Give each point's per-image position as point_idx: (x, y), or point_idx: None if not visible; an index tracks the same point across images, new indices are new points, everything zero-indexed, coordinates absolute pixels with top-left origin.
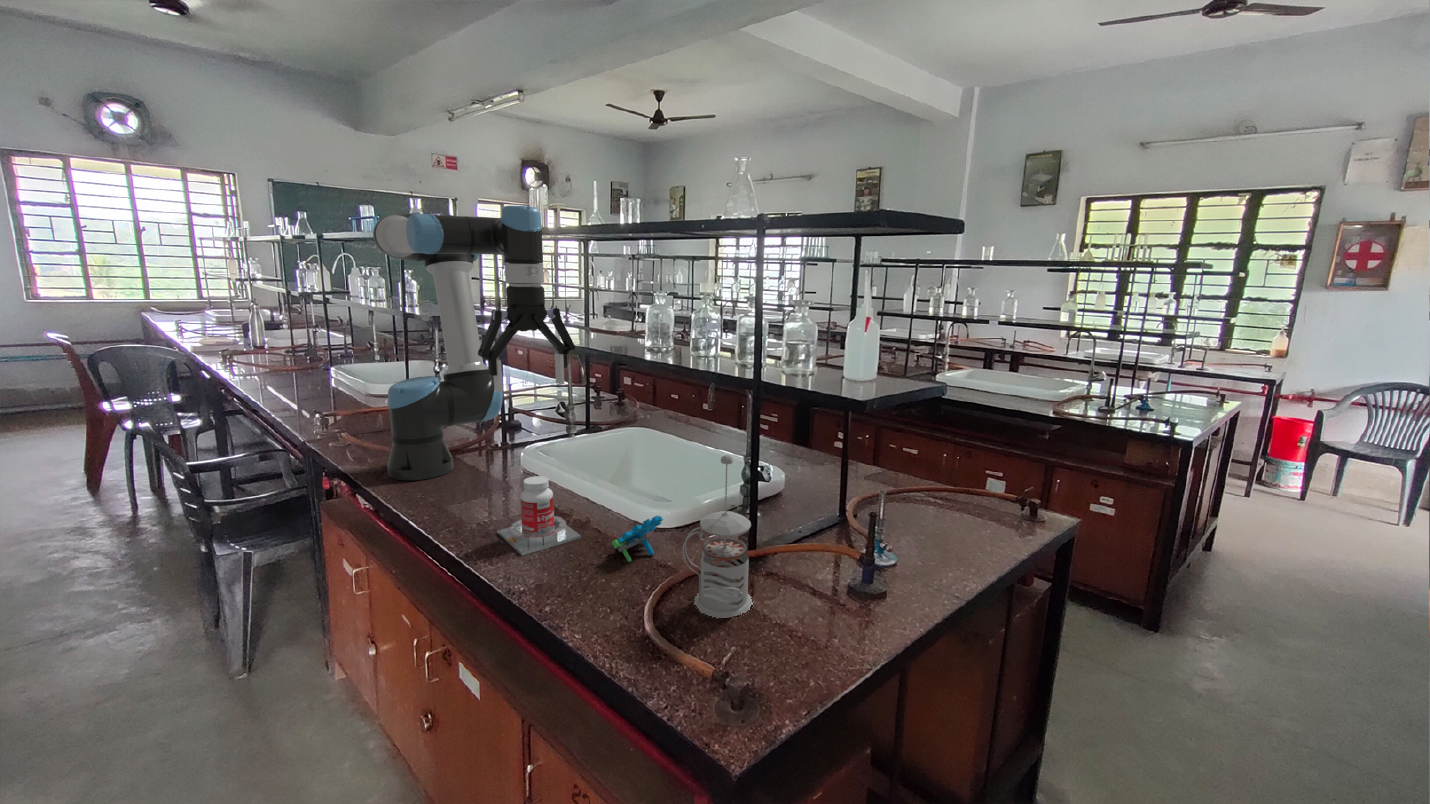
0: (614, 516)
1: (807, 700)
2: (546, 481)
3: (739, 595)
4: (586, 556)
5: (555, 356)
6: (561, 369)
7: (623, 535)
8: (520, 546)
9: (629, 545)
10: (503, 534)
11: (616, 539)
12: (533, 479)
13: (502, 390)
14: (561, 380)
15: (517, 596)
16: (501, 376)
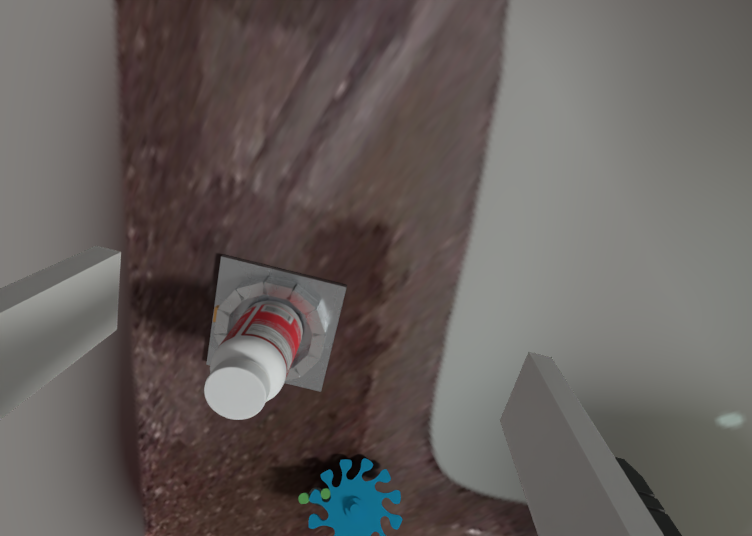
0: (434, 369)
1: None
2: (248, 417)
3: None
4: (285, 437)
5: (606, 522)
6: (534, 502)
7: (309, 521)
8: (217, 345)
9: (322, 506)
10: (219, 281)
11: (306, 502)
12: (232, 387)
13: (110, 331)
14: (509, 437)
15: (142, 445)
16: (39, 385)
